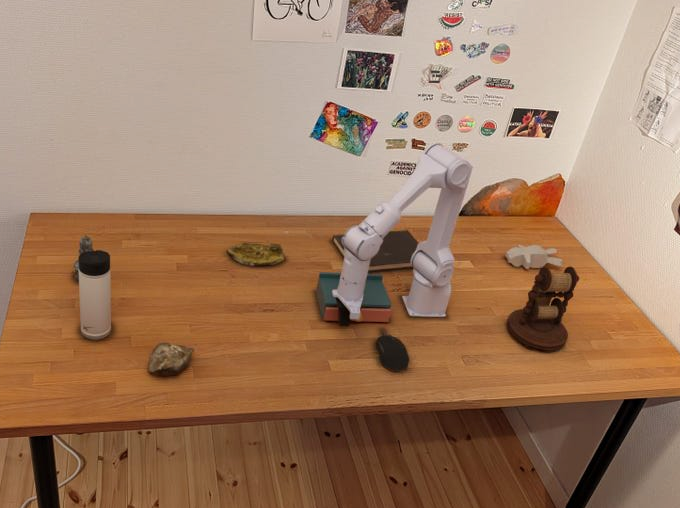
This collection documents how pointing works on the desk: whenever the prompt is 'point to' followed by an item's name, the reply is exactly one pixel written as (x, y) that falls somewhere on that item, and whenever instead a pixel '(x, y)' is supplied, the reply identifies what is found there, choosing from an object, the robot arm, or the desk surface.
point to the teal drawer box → (372, 292)
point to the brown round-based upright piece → (544, 310)
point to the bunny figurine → (532, 256)
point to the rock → (169, 358)
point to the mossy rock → (256, 254)
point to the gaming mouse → (392, 352)
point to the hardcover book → (388, 251)
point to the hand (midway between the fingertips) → (343, 324)
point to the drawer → (361, 314)
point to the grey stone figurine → (84, 246)
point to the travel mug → (95, 294)
